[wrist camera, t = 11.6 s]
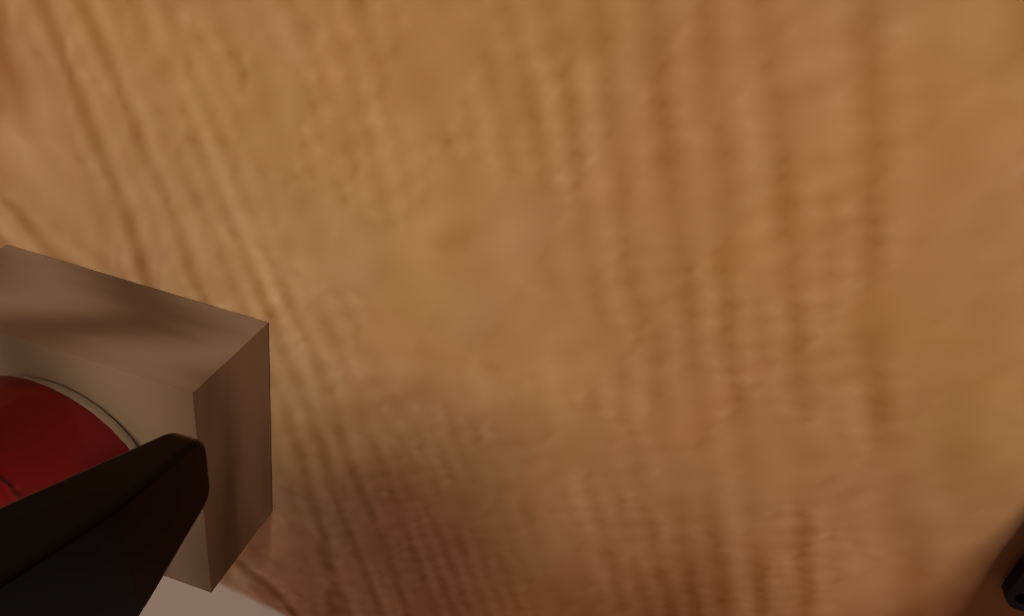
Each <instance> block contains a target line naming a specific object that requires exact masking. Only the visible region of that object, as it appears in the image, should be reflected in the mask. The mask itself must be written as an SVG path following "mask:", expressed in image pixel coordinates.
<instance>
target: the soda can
mask: <svg viewBox="0 0 1024 616" xmlns="http://www.w3.org/2000/svg"><path fill="white" fill-rule="evenodd" d="M136 447H138V446H137V445H136V443H135V442H134V440H133V439H132V438H131V436H130V435H129V434H128V433H127V432H126V431H125V430H124V429H123V428H122V427H121V426H120V424H119V423H118V422H117V421H115V420H114V419H113V418H112V417H111V416H110V415H108V414H107V413H106V412H105V411H104V410H103V409H102V408H100V407H99V406H97V405H96V404H94V403H93V402H91V401H90V400H88V399H87V398H85V397H84V396H82V395H80V394H78V393H76V392H74V391H72V390H70V389H69V388H67V387H64V386H62V385H59V384H56V383H53V382H51V381H48V380H45V379H39V378H34V377H29V376H19V375H0V508H1V507H3V506H6V505H8V504H10V503H12V502H15V501H17V500H19V499H21V498H24V497H26V496H28V495H30V494H33V493H35V492H37V491H39V490H42V489H44V488H46V487H48V486H50V485H53V484H55V483H57V482H59V481H62V480H64V479H66V478H68V477H71V476H73V475H75V474H77V473H80V472H82V471H84V470H86V469H89V468H91V467H93V466H95V465H98V464H100V463H102V462H104V461H107V460H109V459H111V458H113V457H116V456H118V455H120V454H122V453H125V452H127V451H129V450H131V449H134V448H136Z"/></svg>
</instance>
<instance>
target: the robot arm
mask: <svg viewBox="0 0 1024 616" xmlns="http://www.w3.org/2000/svg"><path fill="white" fill-rule="evenodd" d="M209 490H210V483H209V473H208V464H207V454H206V448H205V445H204V444H203V442H202V441H200V440H199V439H195V438H192V437H189V436H185V435H182V434H179V433H169V434H165V435H163V436H160V437H158V438H156V439H154V440H152V441H149V442H147V443H145V444H143V445H140V446H138V447H136V448H134V449H131V450H129V451H127V452H125V453H122V454H120V455H118V456H116V457H113V458H111V459H109V460H107V461H104V462H102V463H100V464H98V465H95V466H93V467H91V468H89V469H86V470H84V471H82V472H80V473H77V474H75V475H73V476H71V477H68V478H66V479H64V480H62V481H59V482H57V483H55V484H53V485H50V486H48V487H46V488H44V489H42V490H39V491H37V492H35V493H33V494H30V495H28V496H26V497H24V498H21V499H19V500H17V501H15V502H12V503H10V504H8V505H6V506H3V507H1V508H0V616H139V615H140V613H141V611H142V610H143V608H144V607H145V605H146V604H147V602H148V600H149V599H150V597H151V595H152V594H153V592H154V590H155V589H156V587H157V585H158V584H159V582H160V580H161V579H162V577H163V575H164V573H165V572H166V570H167V568H168V567H169V565H170V563H171V562H172V560H173V558H174V557H175V555H176V553H177V551H178V550H179V548H180V546H181V545H182V543H183V541H184V540H185V538H186V536H187V535H188V533H189V531H190V529H191V528H192V526H193V524H194V523H195V521H196V519H197V518H198V516H199V514H200V513H201V511H202V509H203V507H204V506H205V504H206V501H207V499H208V495H209ZM1001 587H1002V592H1003V594H1004V597H1005V599H1006V602H1007V603H1008V604H1009V605H1010V606H1011V607H1013V608H1015V609H1018V610H1021V611H1024V593H1023V592H1024V555H1023V557H1022V559H1021V561H1020V562H1019V563H1018V564H1017V566H1016V567H1015V568H1014V569H1013V570H1012V572H1011V573H1010V574H1009V575H1008V577H1007V578H1006V579H1005V580H1004V582H1003V584H1002V586H1001ZM1021 593H1022V594H1021Z"/></svg>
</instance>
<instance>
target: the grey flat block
mask: <svg viewBox="0 0 1024 616" xmlns="http://www.w3.org/2000/svg"><path fill="white" fill-rule="evenodd" d="M0 375H19V376H29V377H34V378H39V379H45V380H48V381H51V382H53V383H56V384H59V385H62V386H64V387H67V388H69V389H70V390H72V391H74V392H76V393H78V394H80V395H82V396H84V397H85V398H87V399H88V400H90V401H91V402H93V403H94V404H96V405H97V406H99V407H100V408H102V409H103V410H104V411H105V412H106V413H107V414H108V415H110V416H111V417H112V418H113V419H114V420H115V421H117V422H118V423H119V424H120V426H121V427H122V428H123V429H124V430H125V431H126V432H127V433H128V434H129V435H130V436H131V438H132V439H133V440H134V442H135V443H136V445H137V446H140V445H143V444H145V443H147V442H149V441H152V440H154V439H156V438H158V437H160V436H163V435H165V434H169V433H179V434H182V435H185V436H189V437H192V438H195V439H199V440H200V441H202V442H203V444H204V445H205V448H206V454H207V464H208V473H209V483H210V490H209V495H208V499H207V501H206V504H205V506H204V507H203V509H202V511H201V513H200V514H199V516H198V518H197V519H196V521H195V523H194V524H193V526H192V528H191V529H190V531H189V533H188V535H187V536H186V538H185V540H184V541H183V543H182V545H181V546H180V548H179V550H178V551H177V553H176V555H175V557H174V558H173V560H172V562H171V563H170V565H169V567H168V568H167V570H166V572H165V573H164V576H167V577H170V578H172V579H175V580H178V581H181V582H184V583H186V584H189V585H192V586H195V587H197V588H200V589H203V590H206V591H209V592H212V591H213V589H214V588H215V587H216V585H217V584H218V583H219V581H220V580H221V579H222V577H223V576H224V575H225V573H226V572H227V571H228V569H229V568H230V567H231V565H232V564H233V562H234V561H235V560H236V558H237V557H238V556H239V554H240V553H241V552H242V550H243V549H244V548H245V546H246V545H247V544H248V542H249V541H250V540H251V538H252V537H253V536H254V534H255V533H256V532H257V530H258V529H259V527H260V526H261V525H262V523H263V522H264V521H265V519H266V518H267V517H268V515H269V514H270V513H271V511H272V480H271V432H270V385H269V338H268V323H267V322H263V321H260V320H257V319H253V318H250V317H247V316H243V315H240V314H237V313H233V312H230V311H227V310H223V309H220V308H217V307H213V306H210V305H207V304H203V303H200V302H196V301H193V300H190V299H186V298H183V297H180V296H176V295H173V294H170V293H166V292H163V291H160V290H156V289H153V288H150V287H146V286H143V285H139V284H136V283H133V282H129V281H126V280H123V279H119V278H116V277H113V276H109V275H106V274H103V273H99V272H96V271H93V270H89V269H86V268H83V267H79V266H76V265H72V264H69V263H66V262H62V261H59V260H56V259H52V258H49V257H46V256H42V255H39V254H36V253H32V252H29V251H26V250H22V249H19V248H16V247H12V246H9V245H7V246H5V247H3V248H1V249H0Z"/></svg>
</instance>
